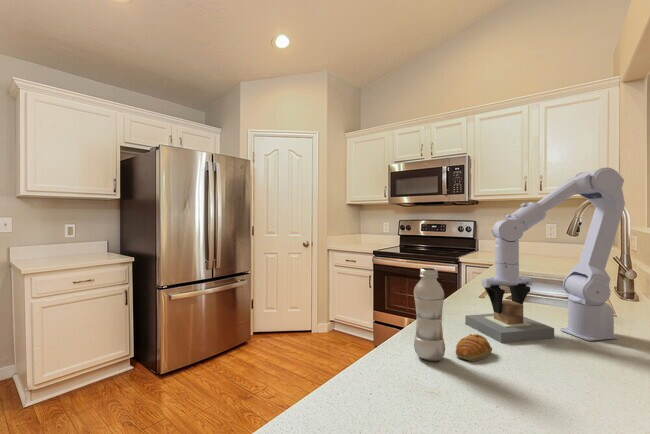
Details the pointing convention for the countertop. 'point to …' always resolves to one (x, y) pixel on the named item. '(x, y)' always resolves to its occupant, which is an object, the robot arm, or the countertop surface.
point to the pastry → (473, 347)
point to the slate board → (509, 328)
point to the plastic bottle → (429, 316)
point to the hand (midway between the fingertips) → (507, 311)
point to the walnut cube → (510, 313)
